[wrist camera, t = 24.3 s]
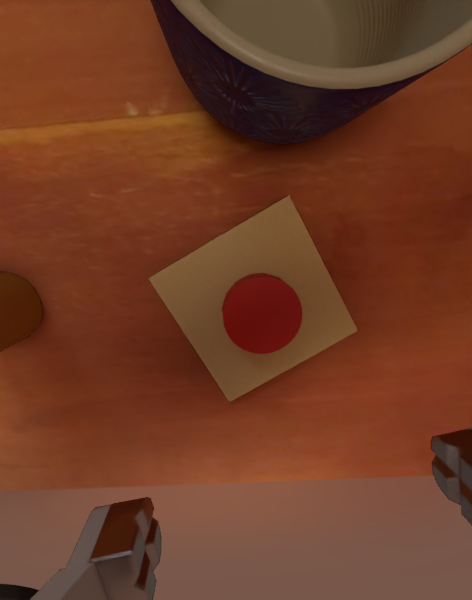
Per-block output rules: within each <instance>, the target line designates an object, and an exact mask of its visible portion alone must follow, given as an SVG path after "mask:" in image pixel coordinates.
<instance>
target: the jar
mask: <svg viewBox="0 0 472 600" xmlns="http://www.w3.org/2000/svg"><path fill="white" fill-rule="evenodd" d="M41 317H42V305H41V301H40V298H39V296H38V294H37V292H36V291H35V289H34V288H33V287H32V286H31V285H30V284H29V283H28V282H27V281H26V280H24V279H23V278H21V277H19V276H17V275H15V274H12V273H9V272H4V271H0V352H1V351H3V350H5V349H7V348H9V347H10V346H12V345H14V344H16V343H17V342H19V341H21V340H23V339H25V338H26V337H28V336H30V335H31V334H32V333H33V332H34V331H35V330H36V329H37V327H38V326H39V324H40V321H41Z"/></svg>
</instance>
